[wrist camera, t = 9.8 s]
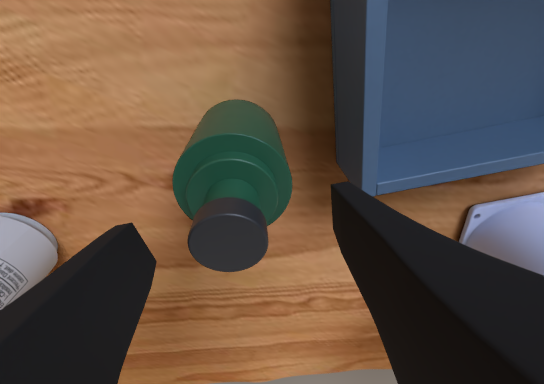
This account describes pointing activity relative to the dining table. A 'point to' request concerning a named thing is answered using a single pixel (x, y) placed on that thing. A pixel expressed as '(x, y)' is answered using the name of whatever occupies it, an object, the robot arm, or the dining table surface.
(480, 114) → the tub
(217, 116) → the bottle
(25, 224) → the energy drink can
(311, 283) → the dining table surface
